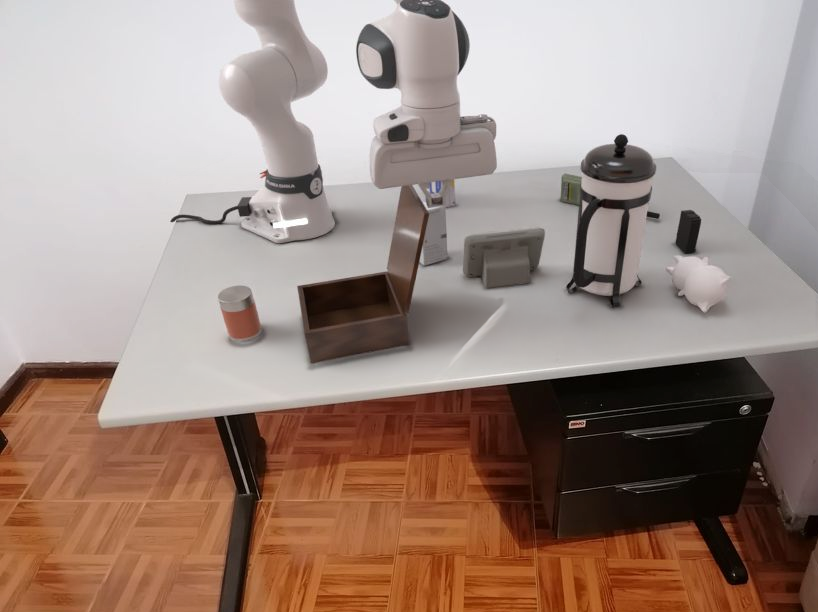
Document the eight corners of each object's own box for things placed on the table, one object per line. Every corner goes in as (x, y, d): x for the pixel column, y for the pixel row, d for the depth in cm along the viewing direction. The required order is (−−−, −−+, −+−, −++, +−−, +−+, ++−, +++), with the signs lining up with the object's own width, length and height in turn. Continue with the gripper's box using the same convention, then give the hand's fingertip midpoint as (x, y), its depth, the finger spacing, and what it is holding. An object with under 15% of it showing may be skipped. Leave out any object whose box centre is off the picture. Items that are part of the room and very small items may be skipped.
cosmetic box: (424, 266, 133) (420, 213, 126) (413, 258, 136) (409, 205, 129) (449, 258, 136) (446, 205, 129) (438, 250, 139) (435, 198, 132)
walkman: (430, 197, 162) (427, 151, 155) (439, 195, 163) (437, 149, 156) (445, 208, 157) (443, 160, 150) (455, 205, 158) (453, 158, 151)
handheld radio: (564, 197, 160) (661, 218, 149) (558, 202, 158) (656, 224, 147) (566, 171, 156) (665, 191, 145) (560, 176, 154) (660, 197, 143)
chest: (311, 367, 106) (304, 333, 102) (303, 317, 119) (297, 285, 115) (409, 348, 110) (406, 315, 106) (392, 302, 122) (388, 270, 118)
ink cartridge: (695, 253, 135) (702, 218, 130) (685, 254, 135) (692, 219, 130) (684, 242, 139) (691, 208, 134) (675, 243, 139) (681, 209, 134)
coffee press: (553, 272, 130) (562, 123, 112) (630, 267, 131) (651, 119, 113) (570, 318, 116) (584, 157, 98) (656, 313, 117) (686, 152, 99)
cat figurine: (680, 240, 120) (720, 267, 110) (715, 259, 125) (756, 287, 116) (653, 279, 123) (689, 309, 113) (688, 296, 128) (726, 326, 119)
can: (223, 340, 113) (210, 297, 108) (246, 324, 117) (234, 282, 112) (247, 349, 111) (234, 305, 106) (269, 332, 115) (258, 289, 110)
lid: (424, 213, 96) (429, 213, 97) (403, 176, 109) (407, 177, 109) (404, 312, 105) (408, 313, 106) (386, 268, 118) (390, 268, 118)
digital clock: (540, 265, 132) (543, 218, 126) (544, 287, 125) (547, 238, 119) (463, 266, 133) (461, 219, 126) (462, 289, 126) (460, 240, 119)
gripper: (490, 107, 101) (490, 190, 110) (362, 121, 97) (372, 206, 105) (503, 118, 96) (502, 204, 105) (369, 133, 92) (379, 222, 100)
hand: (436, 205), depth 105 cm, fingers closed
